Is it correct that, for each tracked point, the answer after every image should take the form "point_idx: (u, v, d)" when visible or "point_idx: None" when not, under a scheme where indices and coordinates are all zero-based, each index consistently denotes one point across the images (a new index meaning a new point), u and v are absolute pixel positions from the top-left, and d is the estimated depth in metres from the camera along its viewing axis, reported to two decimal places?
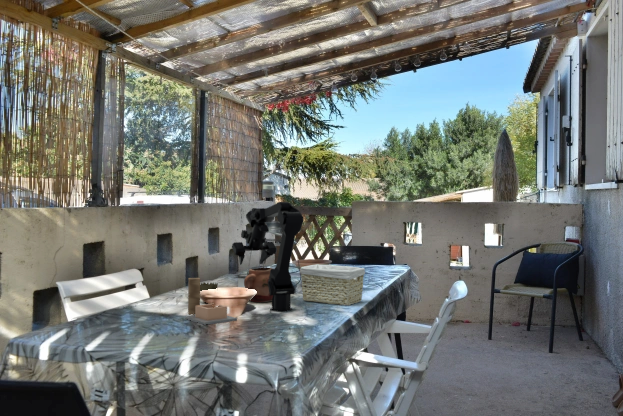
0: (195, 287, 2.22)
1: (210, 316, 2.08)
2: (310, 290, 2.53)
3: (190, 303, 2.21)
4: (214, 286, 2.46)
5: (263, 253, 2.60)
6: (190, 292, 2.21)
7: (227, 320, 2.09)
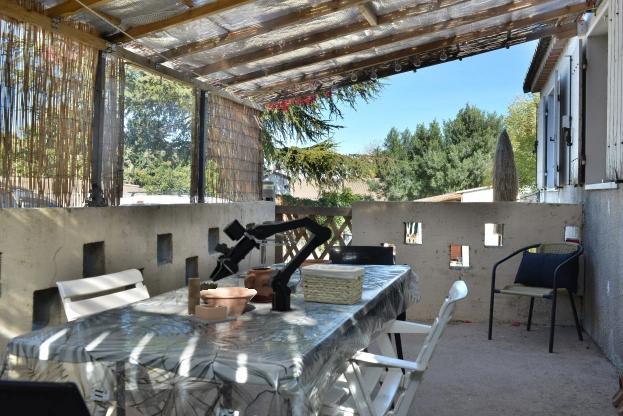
0: (195, 287, 2.22)
1: (210, 316, 2.08)
2: (311, 290, 2.53)
3: (190, 303, 2.21)
4: (214, 286, 2.46)
5: (219, 267, 2.31)
6: (190, 292, 2.21)
7: (227, 320, 2.09)
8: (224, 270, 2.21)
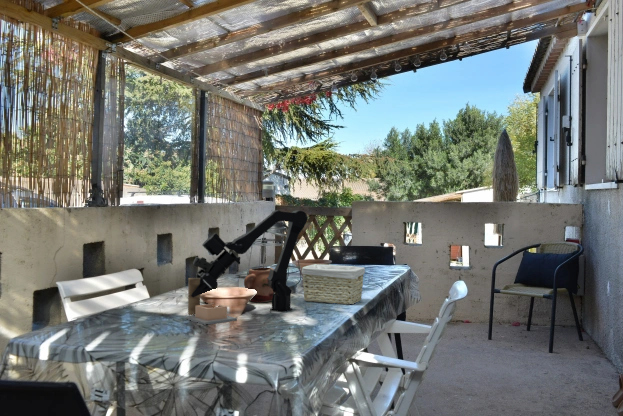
0: (195, 287, 2.22)
1: (210, 316, 2.08)
2: (312, 290, 2.53)
3: (190, 303, 2.21)
4: None
5: None
6: (190, 292, 2.21)
7: (227, 320, 2.09)
8: (203, 285, 2.19)
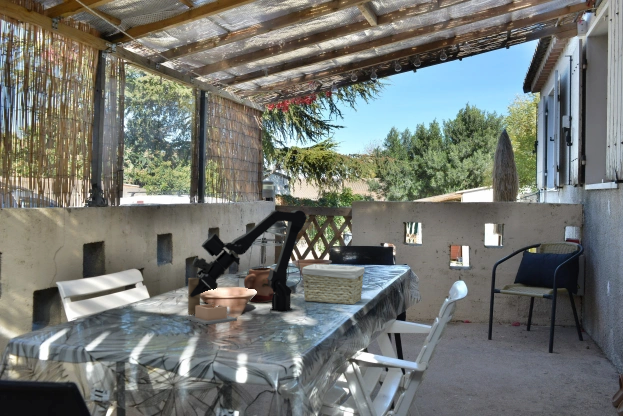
0: None
1: (210, 316, 2.08)
2: (313, 290, 2.53)
3: (190, 303, 2.21)
4: None
5: None
6: (190, 292, 2.21)
7: (227, 320, 2.09)
8: (202, 285, 2.21)
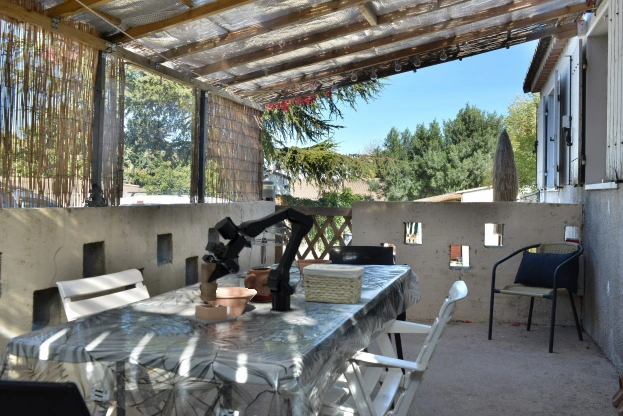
0: (212, 272, 2.12)
1: (210, 316, 2.08)
2: (313, 290, 2.53)
3: (207, 289, 2.11)
4: None
5: None
6: (207, 278, 2.11)
7: (227, 320, 2.09)
8: (220, 270, 2.12)
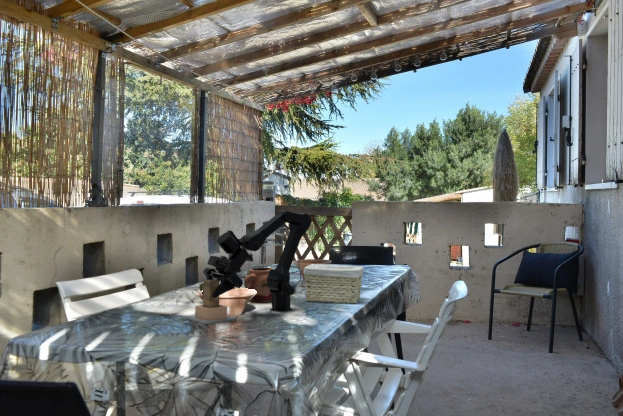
0: (215, 289, 2.11)
1: (210, 316, 2.08)
2: (314, 290, 2.53)
3: (210, 306, 2.10)
4: None
5: None
6: (210, 295, 2.10)
7: (227, 320, 2.09)
8: (225, 284, 2.11)
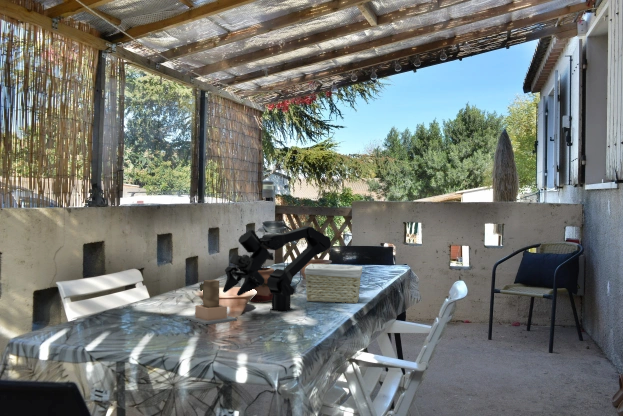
0: (215, 289, 2.11)
1: (210, 316, 2.08)
2: (315, 290, 2.53)
3: (210, 306, 2.10)
4: None
5: (231, 280, 2.24)
6: (210, 295, 2.10)
7: (227, 320, 2.09)
8: (249, 283, 2.16)
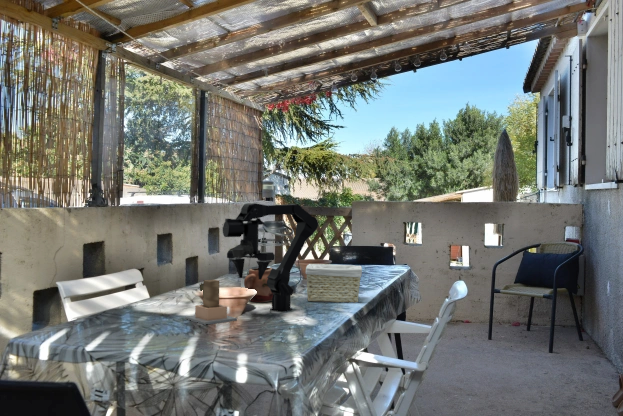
0: (215, 289, 2.11)
1: (210, 316, 2.08)
2: (316, 290, 2.53)
3: (210, 306, 2.10)
4: None
5: (239, 263, 2.28)
6: (210, 295, 2.10)
7: (227, 320, 2.09)
8: None
